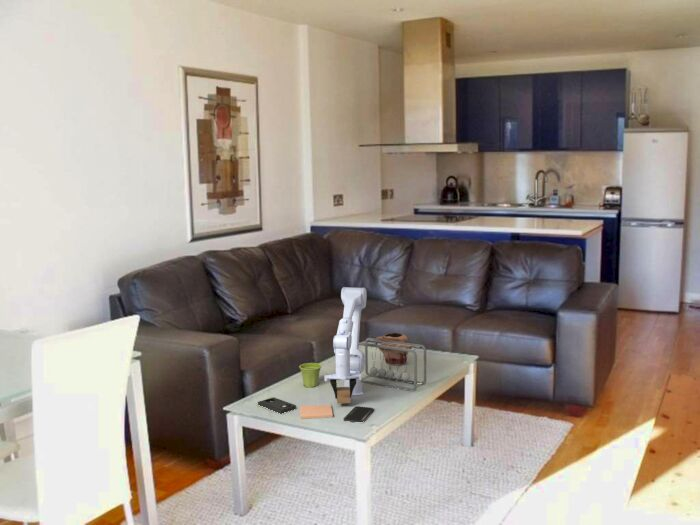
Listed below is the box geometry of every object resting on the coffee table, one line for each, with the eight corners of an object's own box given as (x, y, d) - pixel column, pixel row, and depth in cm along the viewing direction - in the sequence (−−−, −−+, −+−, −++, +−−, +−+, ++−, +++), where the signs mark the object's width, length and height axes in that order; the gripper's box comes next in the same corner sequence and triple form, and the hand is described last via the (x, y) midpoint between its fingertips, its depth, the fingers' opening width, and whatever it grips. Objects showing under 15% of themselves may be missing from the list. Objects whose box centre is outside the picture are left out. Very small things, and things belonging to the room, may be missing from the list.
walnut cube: (336, 399, 289) (336, 387, 288) (349, 398, 289) (348, 386, 288) (337, 403, 284) (337, 391, 283) (350, 403, 284) (350, 390, 284)
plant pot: (318, 389, 307) (318, 369, 306) (297, 388, 309) (296, 368, 307) (324, 382, 316) (323, 363, 315) (303, 381, 318) (302, 362, 317)
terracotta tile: (300, 407, 284) (300, 405, 284) (330, 406, 285) (330, 404, 285) (300, 418, 272) (300, 416, 272) (332, 417, 273) (332, 415, 273)
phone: (374, 408, 281) (362, 421, 267) (374, 410, 281) (362, 424, 267) (355, 406, 284) (342, 419, 270) (355, 408, 284) (342, 421, 270)
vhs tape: (296, 410, 283) (296, 405, 283) (281, 415, 278) (280, 410, 278) (273, 401, 293) (273, 397, 293) (258, 406, 288) (257, 401, 288)
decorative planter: (368, 363, 345) (368, 334, 343) (379, 357, 355) (379, 329, 353) (406, 368, 335) (406, 339, 333) (417, 362, 346) (417, 333, 344)
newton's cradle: (354, 381, 317) (353, 342, 315) (366, 375, 326) (365, 336, 324) (415, 392, 302) (415, 350, 299) (426, 385, 311) (426, 345, 308)
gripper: (324, 367, 280) (325, 401, 282) (362, 366, 281) (362, 400, 283) (323, 362, 287) (324, 395, 289) (360, 361, 288) (360, 394, 290)
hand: (343, 397), depth 286 cm, fingers closed on walnut cube, 5 cm apart
